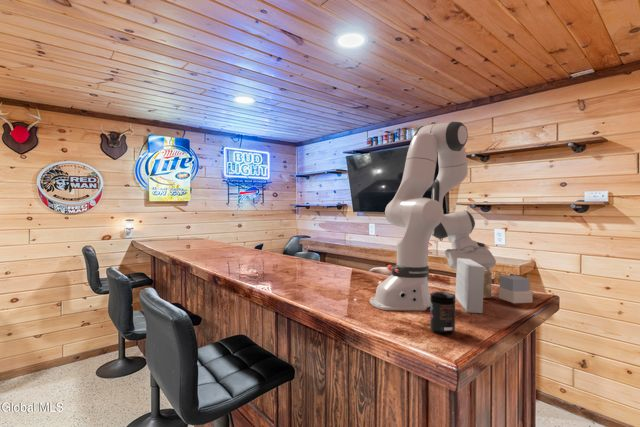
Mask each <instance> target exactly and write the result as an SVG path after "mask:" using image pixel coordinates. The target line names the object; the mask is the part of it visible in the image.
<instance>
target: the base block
mask: <svg viewBox="0 0 640 427" xmlns="http://www.w3.org/2000/svg"><path fill="white" fill-rule="evenodd" d="M533 296H534V294H533V290H530V289H529V291H510V290H507V289H504V288H501V287H500V286H499V287H498V299H501V300H504V301H507V302H510V303H512V304H528V303H530V304H531V303H533Z"/></svg>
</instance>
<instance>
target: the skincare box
mask: <svg viewBox="0 0 640 427" xmlns="http://www.w3.org/2000/svg"><path fill="white" fill-rule="evenodd" d="M484 271H485V267H483V266H482V265H480V264H478V263H476V262H475V261H473V260H471V259H464V258H457V269H456V276H455V278H456V279H455V294H454V295H455V300H456V301H458V303H459V304H460V305H461V306H462V308H463V309H464V310H465V311H466V312H467V313H473V314H483V312H484V311H483V309H484V308H483V307H484V306H483V305H484V298H483V290H484Z"/></svg>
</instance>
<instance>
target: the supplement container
mask: <svg viewBox="0 0 640 427" xmlns="http://www.w3.org/2000/svg"><path fill="white" fill-rule="evenodd" d="M429 295H430V300H431V305H430V307H429V309H430V310H429V311H430V312H429V313H430V314H429V315H430V316H429V317H430V318H429V319H430V320H429V321H430V322H429V324H430V326H429V328H430V330H431V331H432V332H433V333H435V334H438V335H442V336H444V335H445V336H450V335H453V334H455V331H456V297H455V294H453V293H450V292H443V291H433V292H431V293H429Z"/></svg>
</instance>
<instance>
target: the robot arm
mask: <svg viewBox="0 0 640 427" xmlns="http://www.w3.org/2000/svg"><path fill="white" fill-rule="evenodd" d="M468 136H469V133H468V128H467V126H466V125H465V124H464V123H463V122H461V121H450V122H437V123H436V122H435V123H432V124H431V123H430V124H427V125H422V126H419V127H417V128H415V129H414V130H413V131H412V133H411V135H410V144H409V146H408V150H407V153H406V158H405V163H404V169H403V172H402V178H401V181H400V185H399V187H398V189H397V191H396V192H395V195H394V197H393V198H392V200H390V201H389V202H388V204H386V207H385V210H384V216H385V219H386V221H387V222H388V223H389V224H391V225H393V226H396V227H398V228H399V227H400V228H405V229H404V234H403V237H401V239H400V240H399V241H398V242H397V244H396V264H395V265H391V264H388V265H387V267H386V269H387V271H390V272H391V274H390V275H389V276H388V277H387V278H385V279H384V280H383V281H382V282H380V283H379V284H378V285H377V286H376V289H375V290H376V291H375V295H374V296H372V297H370V298H369V303H370V305H371V306H373V307H374V308H376V309H379V310H382V311H426V310H427V309H428V308H430V305H431V300H430V290H429V277H430V276H429V275H430V272H429V270H430V269H429V266H428V261H429V260H428V253H429V252H428V251H429V244H430V240H431V237H434V238H437V239H439V240H442V239H445V238H447V240H448V242H449V243H451V244H450V245H451V247H452V248H447V249H445V250H444V255H445V257H446V260H447V263H448V266H449V268H451V269H453V270H457V258H464V259H471V260H473V261H475V262H476V263H478V264H480V265H482V266H483V267H485V268H484V270H486V271H488V272H491V273H492V271H491V268H493V267H495V265H496V263H497V260H496V259H495V256H494V255H493V254H492V252H491V251H490V250H489V249H488V246H487V245H486V243H483V242H480V241H476V240H473V239H472V238H471V237H470V235H471V234H472V232H473V230H474V228H475V227H476V221H475V218H474V216H473V214H471V213H470V212H469V211H467V210H458V211H453V212H451V213H444V207H443V203H444V197H445V196H446V194H447V193H449V191H451V190H452V189H454V188H456V187H457V186H459V185H460V184H462V183H463V181H464V180H465V179H466V178H467V175H468V171H469V170H468V161H467V160H468V158H467V154H466V149H465V145H466V144H467V141H468ZM437 163H438V174H437V176H436V178H435V174H436V168H437ZM434 179H435V180H434ZM430 188H431V195H430V196H431V197H424V195H425V193H426V192H427V191H428V190H429V189H430Z"/></svg>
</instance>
